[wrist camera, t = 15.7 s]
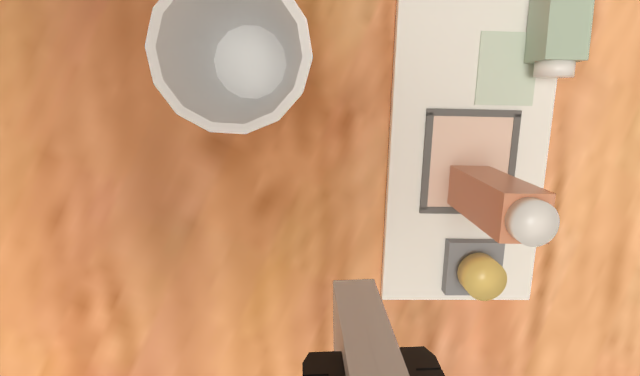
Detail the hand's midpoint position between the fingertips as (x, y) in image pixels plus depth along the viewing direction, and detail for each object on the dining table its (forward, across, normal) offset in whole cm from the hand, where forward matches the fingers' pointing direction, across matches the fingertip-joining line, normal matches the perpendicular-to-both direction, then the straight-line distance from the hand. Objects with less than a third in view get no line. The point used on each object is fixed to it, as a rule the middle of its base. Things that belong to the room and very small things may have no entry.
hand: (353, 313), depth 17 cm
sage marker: (+25, +19, +13) cm, 34 cm away
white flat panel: (+25, +13, +2) cm, 28 cm away
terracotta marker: (+24, +13, -1) cm, 27 cm away
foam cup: (+26, -6, +9) cm, 28 cm away
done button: (+22, +14, -9) cm, 28 cm away
